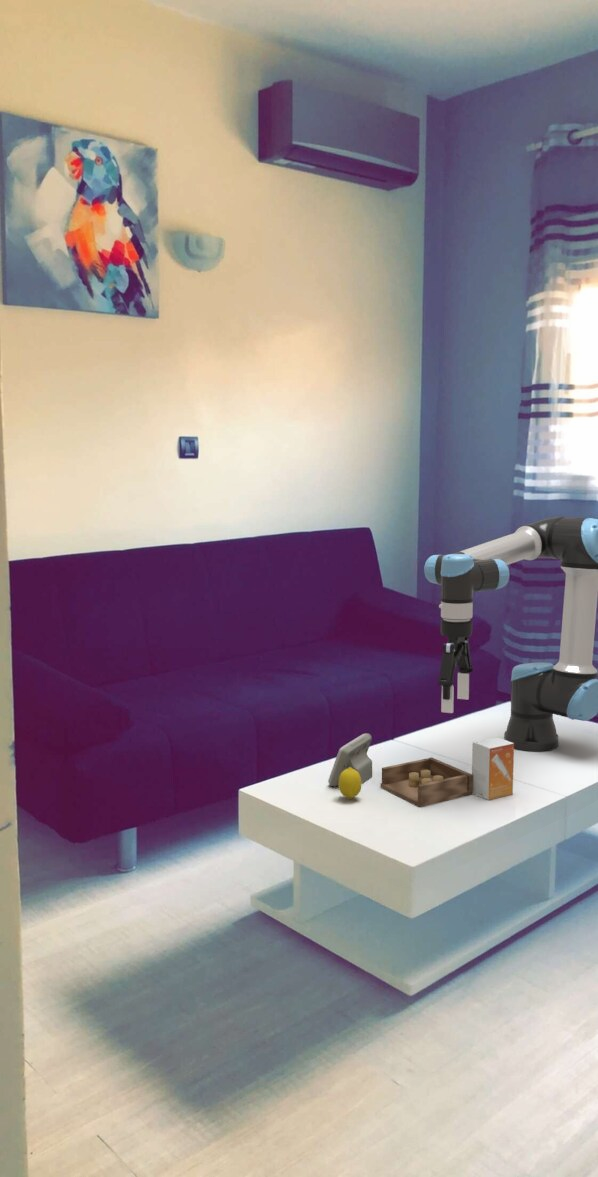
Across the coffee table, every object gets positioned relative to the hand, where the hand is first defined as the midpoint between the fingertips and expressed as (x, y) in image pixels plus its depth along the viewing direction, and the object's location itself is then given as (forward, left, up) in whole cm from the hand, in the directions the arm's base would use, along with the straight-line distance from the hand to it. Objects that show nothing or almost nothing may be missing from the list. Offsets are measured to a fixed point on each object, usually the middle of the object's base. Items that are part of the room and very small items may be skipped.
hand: (455, 705), depth 234 cm
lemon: (+25, -9, -22) cm, 34 cm away
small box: (-7, +6, -22) cm, 24 cm away
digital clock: (+17, -21, -22) cm, 35 cm away
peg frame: (+6, -4, -22) cm, 23 cm away
